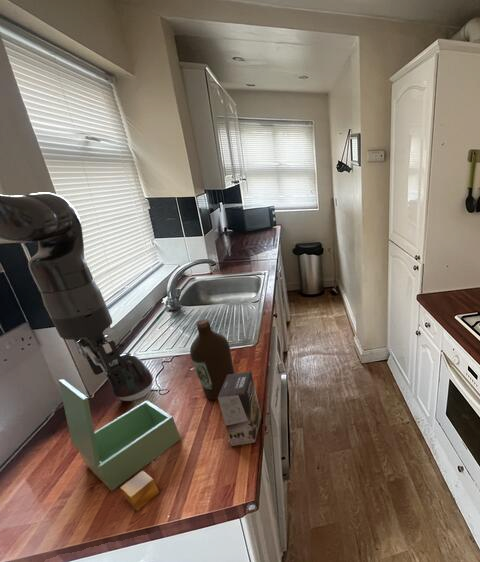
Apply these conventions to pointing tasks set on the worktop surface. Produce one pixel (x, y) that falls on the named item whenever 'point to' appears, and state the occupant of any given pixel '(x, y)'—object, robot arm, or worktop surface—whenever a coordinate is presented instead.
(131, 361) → the dark rounded dome
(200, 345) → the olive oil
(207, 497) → the worktop surface
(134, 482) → the block
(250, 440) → the coffee box
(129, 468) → the chest
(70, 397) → the chest lid
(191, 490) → the worktop surface
